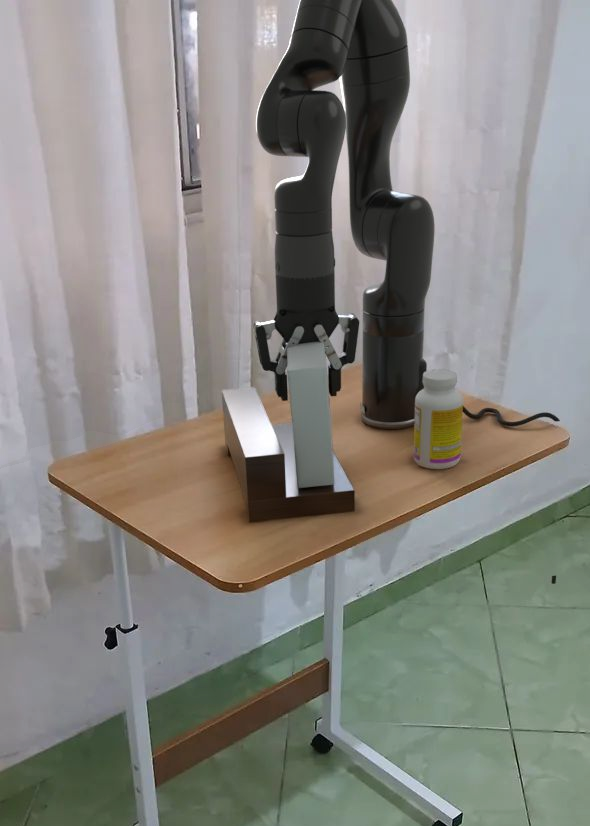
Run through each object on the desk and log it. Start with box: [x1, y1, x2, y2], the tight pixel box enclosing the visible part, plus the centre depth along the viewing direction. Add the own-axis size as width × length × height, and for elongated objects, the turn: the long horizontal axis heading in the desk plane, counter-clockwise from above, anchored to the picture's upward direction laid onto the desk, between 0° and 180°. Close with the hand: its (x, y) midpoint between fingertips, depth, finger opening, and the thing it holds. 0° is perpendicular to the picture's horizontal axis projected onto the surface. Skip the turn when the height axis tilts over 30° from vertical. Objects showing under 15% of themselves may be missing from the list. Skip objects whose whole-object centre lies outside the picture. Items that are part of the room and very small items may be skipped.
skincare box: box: [286, 341, 334, 488], centre depth 138 cm, size 21×5×16 cm, turn 0°
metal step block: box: [220, 386, 356, 523], centre depth 142 cm, size 14×26×9 cm, turn 10°
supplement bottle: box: [413, 368, 464, 470], centre depth 144 cm, size 7×7×13 cm
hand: (308, 396), depth 139 cm, fingers open, 6 cm apart
